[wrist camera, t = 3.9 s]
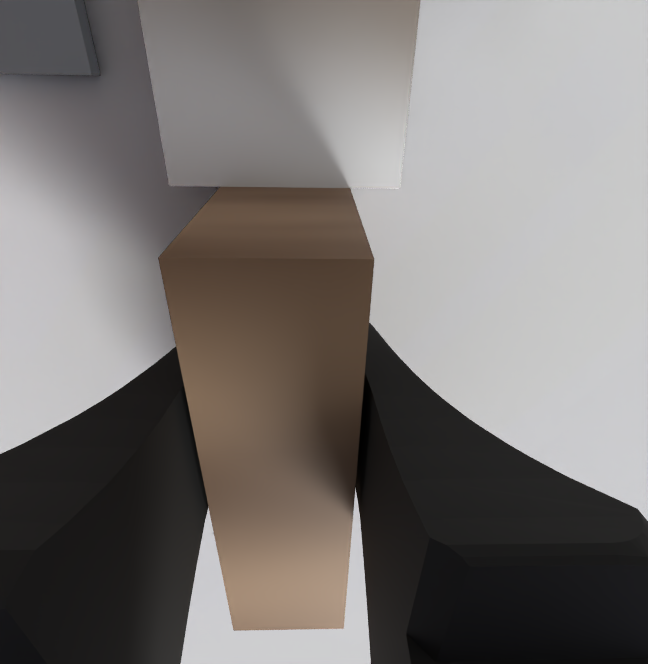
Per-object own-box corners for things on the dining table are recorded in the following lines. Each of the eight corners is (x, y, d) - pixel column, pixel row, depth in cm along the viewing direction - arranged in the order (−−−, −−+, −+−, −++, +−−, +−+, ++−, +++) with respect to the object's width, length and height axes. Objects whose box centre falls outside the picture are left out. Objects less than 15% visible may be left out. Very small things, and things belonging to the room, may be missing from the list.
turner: (365, 470, 15) (386, 627, 11) (225, 472, 15) (189, 630, 10) (442, -315, 6) (744, -1236, 2) (99, -329, 6) (-443, -1371, 2)
